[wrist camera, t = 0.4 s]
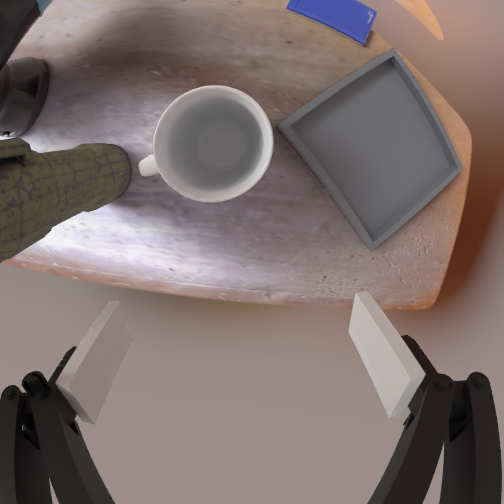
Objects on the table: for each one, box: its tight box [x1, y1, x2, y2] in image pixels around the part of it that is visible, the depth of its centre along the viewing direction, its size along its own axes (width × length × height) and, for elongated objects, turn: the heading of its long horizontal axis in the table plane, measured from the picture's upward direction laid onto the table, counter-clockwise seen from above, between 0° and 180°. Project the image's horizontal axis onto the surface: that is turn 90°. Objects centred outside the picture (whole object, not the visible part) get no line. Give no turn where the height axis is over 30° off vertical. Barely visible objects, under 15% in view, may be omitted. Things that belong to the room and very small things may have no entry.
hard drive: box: [286, 0, 377, 46], centre depth 26 cm, size 2×8×12 cm
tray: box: [276, 48, 463, 251], centre depth 33 cm, size 22×22×3 cm
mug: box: [139, 85, 274, 202], centre depth 28 cm, size 15×11×13 cm
